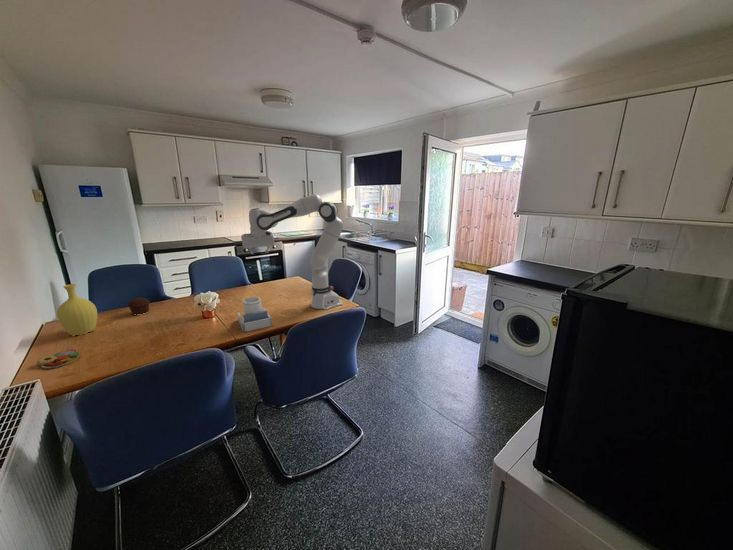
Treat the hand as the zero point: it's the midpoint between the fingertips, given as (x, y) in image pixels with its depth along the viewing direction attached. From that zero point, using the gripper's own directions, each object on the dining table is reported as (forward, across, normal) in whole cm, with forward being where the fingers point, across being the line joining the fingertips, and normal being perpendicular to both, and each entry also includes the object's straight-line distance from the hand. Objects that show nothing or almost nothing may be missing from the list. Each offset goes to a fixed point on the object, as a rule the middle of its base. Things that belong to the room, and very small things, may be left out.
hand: (259, 253), depth 198 cm
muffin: (+37, -74, +26) cm, 87 cm away
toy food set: (+38, -99, -26) cm, 109 cm away
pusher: (+37, -12, -34) cm, 51 cm away
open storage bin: (+37, -12, -28) cm, 48 cm away
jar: (+37, -12, -28) cm, 48 cm away
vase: (+37, -99, +9) cm, 106 cm away
